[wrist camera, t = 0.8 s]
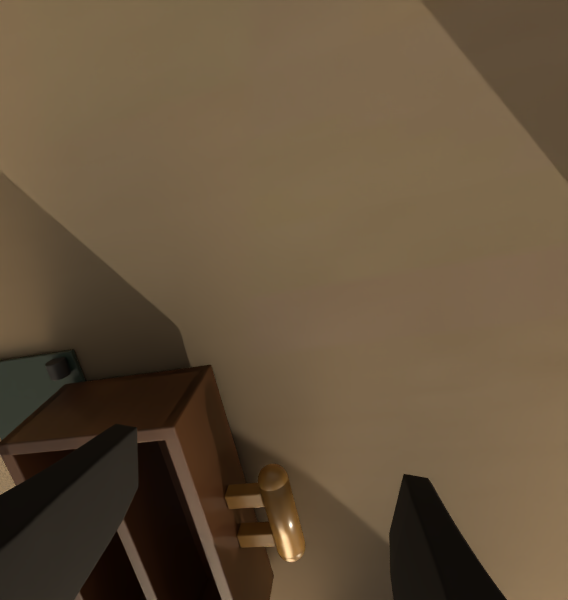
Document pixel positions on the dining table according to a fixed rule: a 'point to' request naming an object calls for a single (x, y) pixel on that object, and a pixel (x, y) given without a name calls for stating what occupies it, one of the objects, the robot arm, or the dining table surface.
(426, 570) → the robot arm
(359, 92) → the dining table surface
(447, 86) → the dining table surface
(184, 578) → the drawer
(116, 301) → the dining table surface
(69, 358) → the flat teal board
